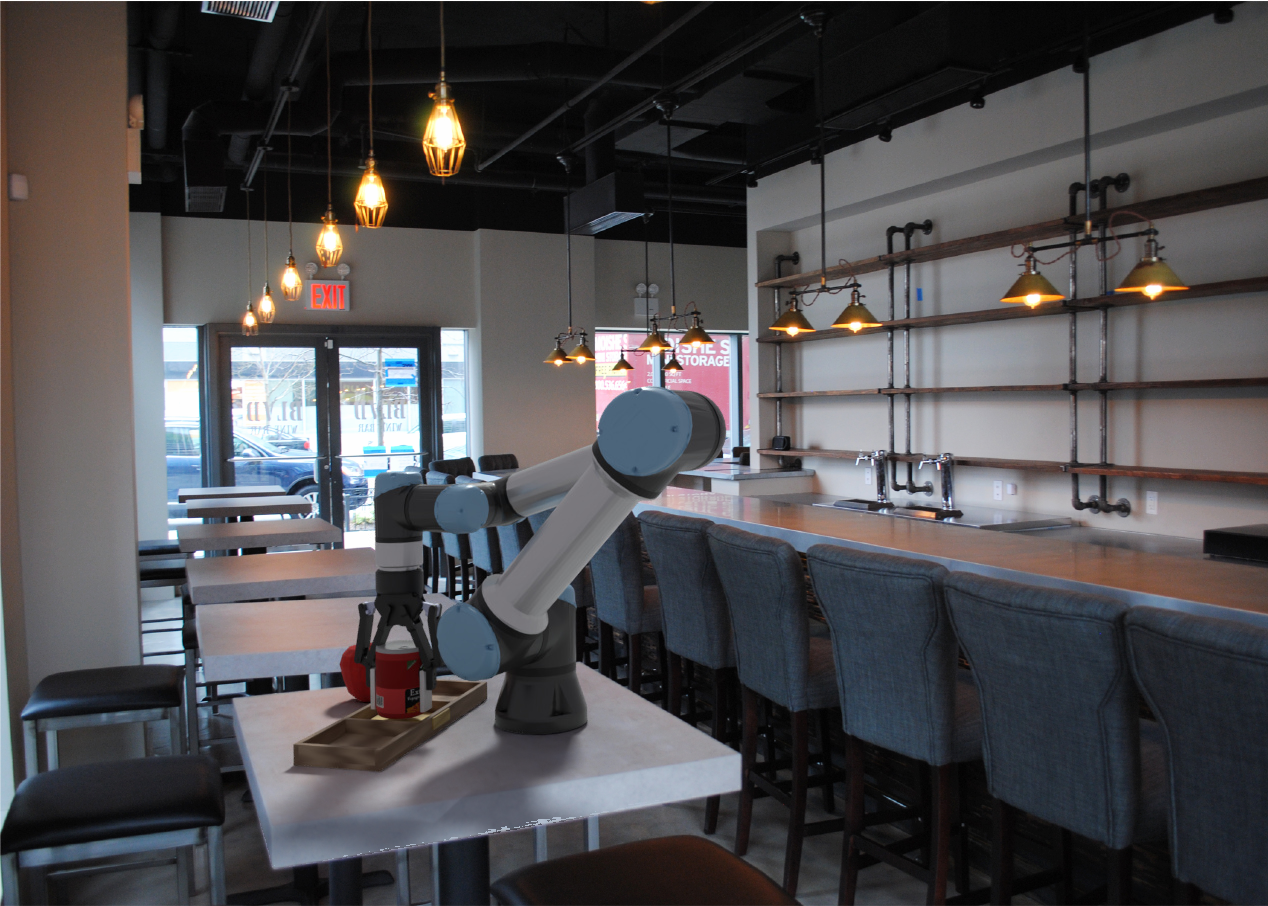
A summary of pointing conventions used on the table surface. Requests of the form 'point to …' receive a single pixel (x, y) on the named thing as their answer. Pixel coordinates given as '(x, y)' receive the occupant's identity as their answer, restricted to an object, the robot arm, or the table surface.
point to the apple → (354, 676)
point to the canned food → (398, 680)
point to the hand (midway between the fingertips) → (401, 708)
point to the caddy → (386, 731)
